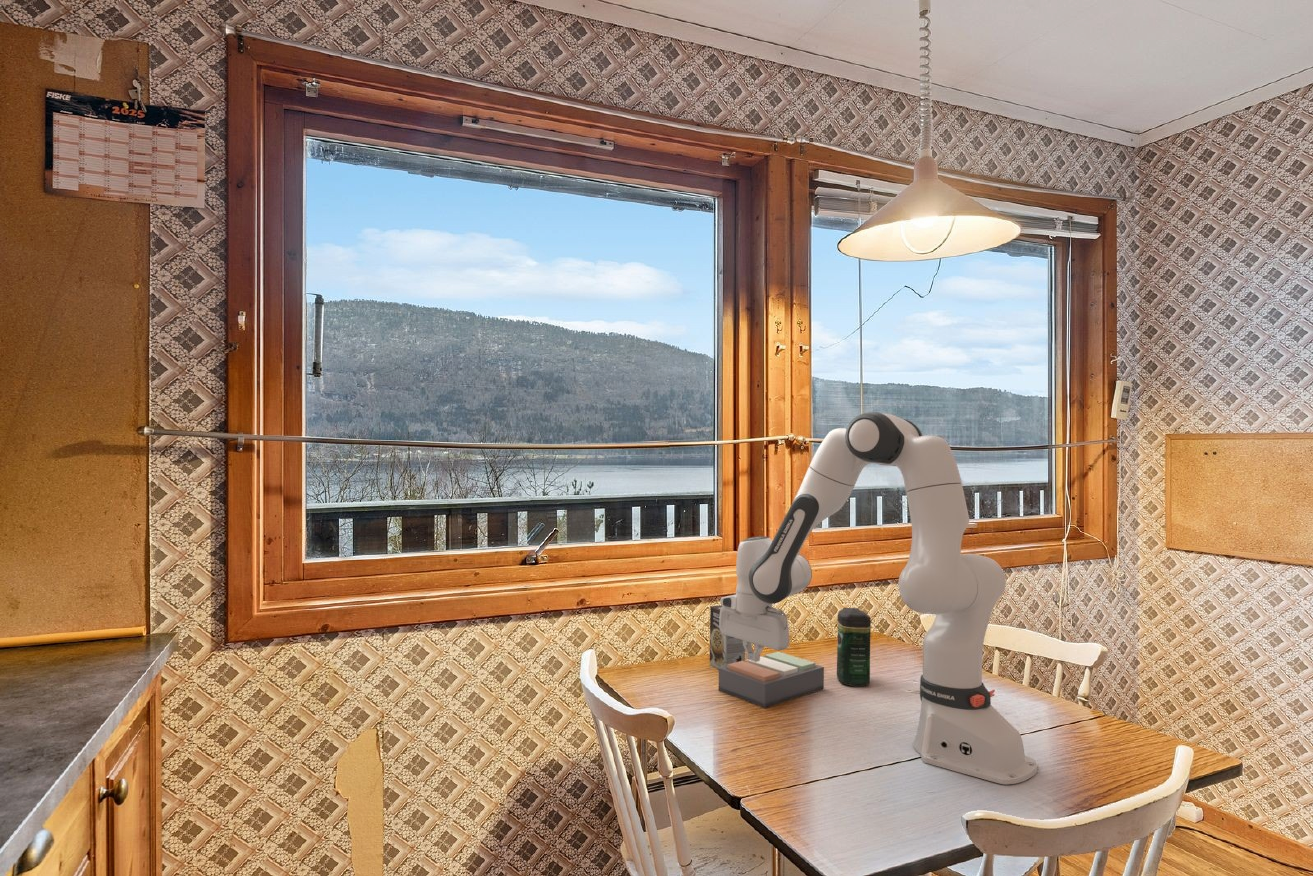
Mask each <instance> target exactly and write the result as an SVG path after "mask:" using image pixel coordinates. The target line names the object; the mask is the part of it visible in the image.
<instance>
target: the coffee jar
mask: <svg viewBox="0 0 1313 876" xmlns="http://www.w3.org/2000/svg"><path fill="white" fill-rule="evenodd" d="M871 622H872V621H871V616H870V615H869V614H867V613H866V612H864V611H863V610H861V609H859V608H857V607H856V608H855V607H843V608H842V609H840V610H839V611H838V613H837V643H836V644H837V646H836V647H837V648H836V649H837V650H836V651H837V652H836V676H837V679H838V681H840V682H841V684H844V685H848V686H852V687H862V686H868V685H869V684H870V682H871V634H872V633H871V629H872V623H871Z"/></svg>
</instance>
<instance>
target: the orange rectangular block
mask: <svg viewBox="0 0 1313 876" xmlns="http://www.w3.org/2000/svg"><path fill="white" fill-rule="evenodd" d="M727 669H728V670H731V671H734V672H737V673H740V674H743V675H746V676H749V677H752V678H755V679H757V680H760V681H763V682H766V681H770V680H773V679H777V678H779V673H778V672H775V671H772V670H769V669H766V668H763V667H760V666H757V665H753V664H750V663H747V662H744V661H739V662H736V663H732V664H728V665H727Z"/></svg>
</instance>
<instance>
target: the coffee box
mask: <svg viewBox="0 0 1313 876" xmlns="http://www.w3.org/2000/svg"><path fill="white" fill-rule="evenodd" d="M722 607H723V606H721V605H712V606H710V612H709V613H710V614H709V665H711V666H712V667H714V668H715V669H717V670H719V668H722V667H726V666H727V665H728V664H732V663H736V662H739V661H744V662H745V661H746V660H745V659H746V651H745V649H744V646H743V640H741V639H738V638H734V637H731V636H728V635H724V634H722V633H721V631H720V628H719V617H720V610H721V608H722Z"/></svg>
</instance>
